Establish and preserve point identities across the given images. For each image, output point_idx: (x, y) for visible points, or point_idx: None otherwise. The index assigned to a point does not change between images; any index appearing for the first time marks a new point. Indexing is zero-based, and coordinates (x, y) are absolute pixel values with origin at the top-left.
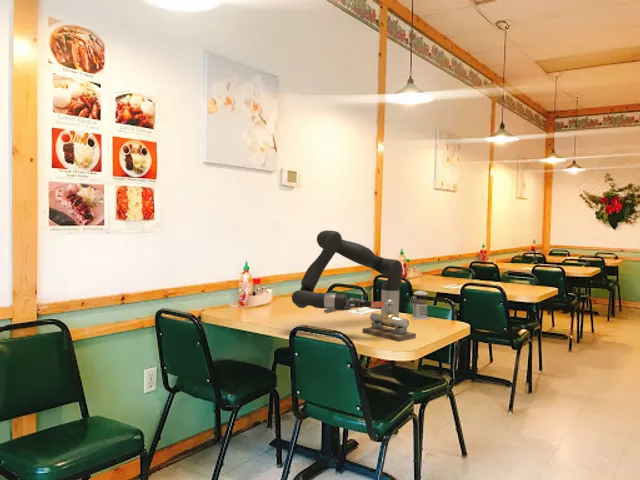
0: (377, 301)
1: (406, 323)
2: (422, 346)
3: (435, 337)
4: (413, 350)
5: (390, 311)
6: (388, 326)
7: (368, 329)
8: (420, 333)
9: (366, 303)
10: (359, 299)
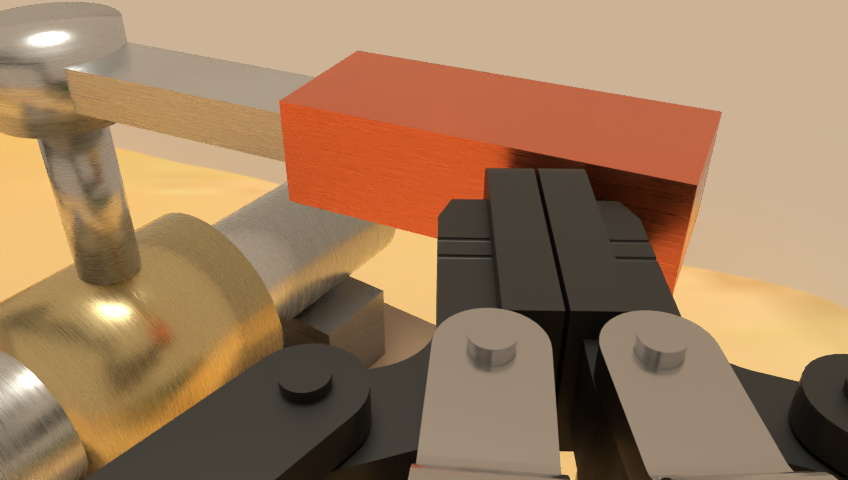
0: (360, 115)
1: None
2: None
3: (221, 195)
4: (780, 286)
5: (129, 215)
6: None
7: None
8: (59, 266)
9: (666, 310)
10: (503, 475)
